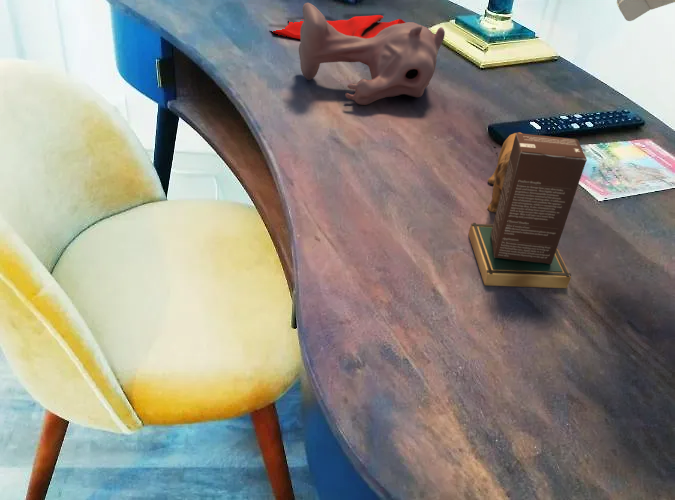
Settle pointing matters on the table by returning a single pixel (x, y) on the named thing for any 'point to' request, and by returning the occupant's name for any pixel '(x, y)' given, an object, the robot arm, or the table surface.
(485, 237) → the green gold display base
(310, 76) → the dragon head
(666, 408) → the table surface
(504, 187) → the box
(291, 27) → the cloth
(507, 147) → the lion figurine
